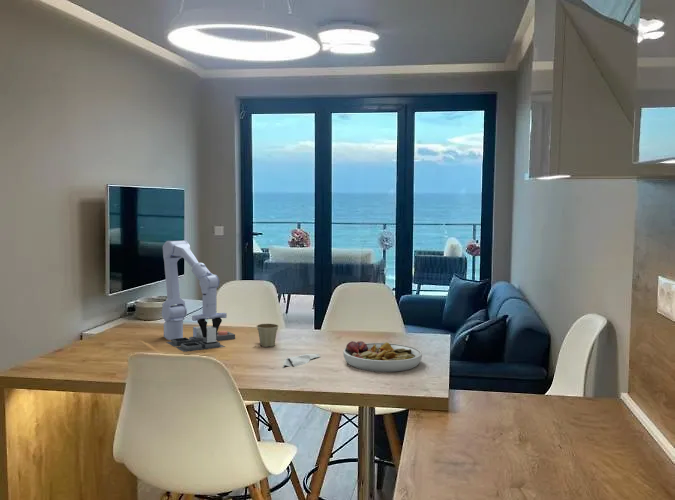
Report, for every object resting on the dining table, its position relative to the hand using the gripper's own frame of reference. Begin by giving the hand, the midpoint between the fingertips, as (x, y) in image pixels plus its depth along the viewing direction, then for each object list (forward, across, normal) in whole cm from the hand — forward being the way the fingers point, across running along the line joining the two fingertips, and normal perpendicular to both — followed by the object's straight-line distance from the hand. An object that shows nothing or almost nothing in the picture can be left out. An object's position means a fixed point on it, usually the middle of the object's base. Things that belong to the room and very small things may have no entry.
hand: (209, 336), depth 262 cm
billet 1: (+4, 0, +11) cm, 12 cm away
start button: (+3, +11, +11) cm, 16 cm away
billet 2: (+2, 0, 0) cm, 2 cm away
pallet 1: (+5, -4, +11) cm, 13 cm away
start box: (+5, +11, +11) cm, 16 cm away
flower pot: (+5, +23, -8) cm, 25 cm away
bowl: (+6, +46, -58) cm, 74 cm away
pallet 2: (+5, -4, 0) cm, 6 cm away
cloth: (+6, +21, -37) cm, 43 cm away
